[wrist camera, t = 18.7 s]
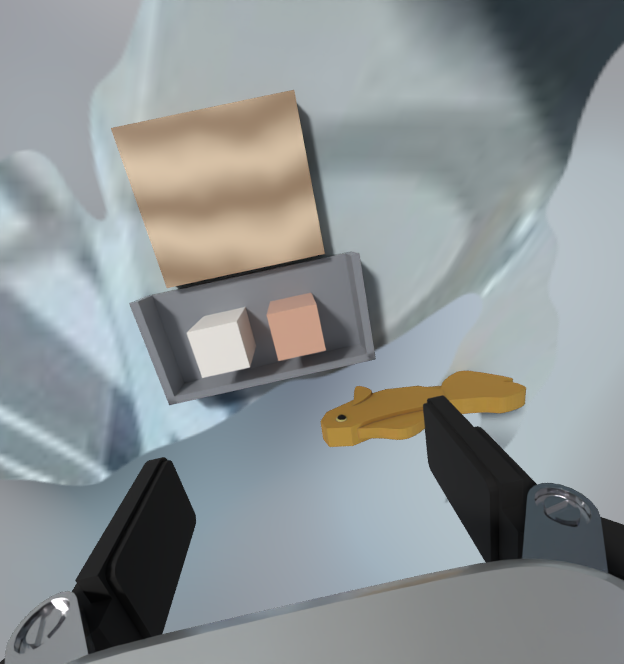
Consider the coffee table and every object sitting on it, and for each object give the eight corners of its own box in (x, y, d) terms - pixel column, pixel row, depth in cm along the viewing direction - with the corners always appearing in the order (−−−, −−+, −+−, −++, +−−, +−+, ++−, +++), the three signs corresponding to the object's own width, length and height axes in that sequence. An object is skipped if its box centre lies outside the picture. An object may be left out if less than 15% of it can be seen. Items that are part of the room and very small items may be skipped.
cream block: (203, 316, 33) (186, 332, 27) (245, 306, 33) (236, 321, 27) (216, 354, 34) (202, 378, 29) (256, 345, 34) (250, 367, 29)
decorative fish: (310, 420, 37) (343, 477, 28) (307, 397, 36) (340, 448, 27) (463, 374, 43) (532, 409, 33) (463, 354, 42) (534, 383, 32)
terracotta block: (270, 301, 33) (266, 314, 27) (311, 292, 33) (316, 303, 27) (279, 340, 34) (278, 361, 29) (319, 331, 34) (326, 350, 29)
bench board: (122, 135, 28) (110, 128, 26) (293, 99, 29) (293, 89, 27) (173, 285, 32) (167, 288, 31) (322, 252, 33) (324, 253, 31)
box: (147, 295, 33) (129, 303, 29) (350, 251, 33) (359, 253, 29) (181, 387, 36) (169, 405, 32) (366, 346, 36) (375, 359, 32)
